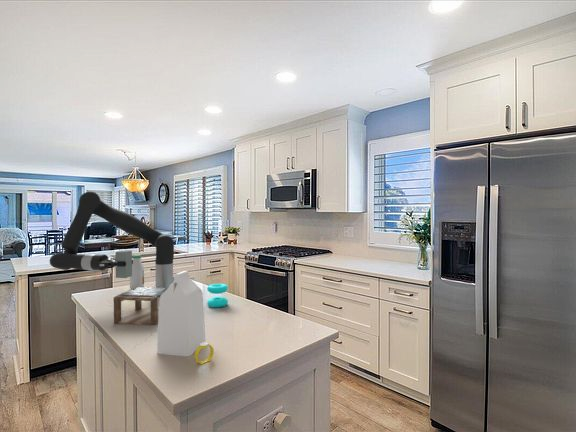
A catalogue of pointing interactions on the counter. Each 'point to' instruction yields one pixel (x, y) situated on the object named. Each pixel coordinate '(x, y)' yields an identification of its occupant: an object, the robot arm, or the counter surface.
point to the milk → (181, 317)
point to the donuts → (217, 300)
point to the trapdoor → (143, 292)
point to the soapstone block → (127, 270)
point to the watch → (202, 345)
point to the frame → (137, 311)
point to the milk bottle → (137, 273)
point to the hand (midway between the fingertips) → (129, 262)
